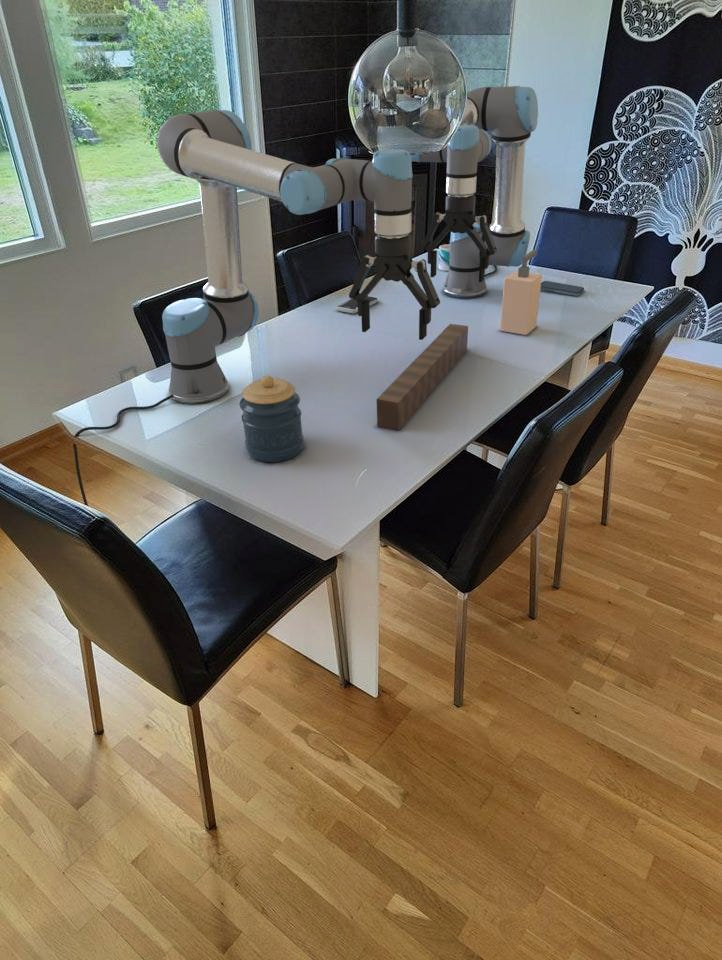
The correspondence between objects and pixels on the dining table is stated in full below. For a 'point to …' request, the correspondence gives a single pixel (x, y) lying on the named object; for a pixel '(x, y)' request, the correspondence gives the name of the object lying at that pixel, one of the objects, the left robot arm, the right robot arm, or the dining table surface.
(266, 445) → the canister
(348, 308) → the smartphone
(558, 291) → the smartphone
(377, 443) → the dining table surface
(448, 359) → the post
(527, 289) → the soap dispenser
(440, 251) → the mug
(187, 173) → the left robot arm
